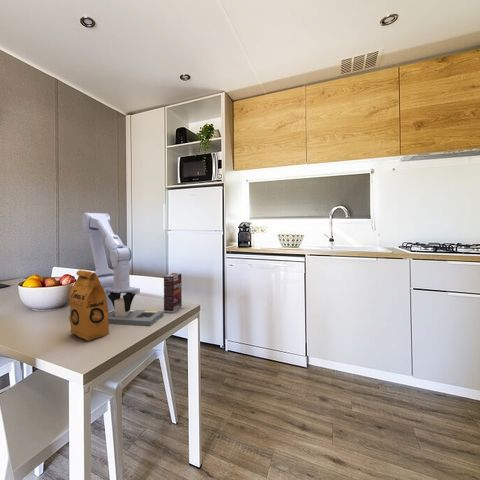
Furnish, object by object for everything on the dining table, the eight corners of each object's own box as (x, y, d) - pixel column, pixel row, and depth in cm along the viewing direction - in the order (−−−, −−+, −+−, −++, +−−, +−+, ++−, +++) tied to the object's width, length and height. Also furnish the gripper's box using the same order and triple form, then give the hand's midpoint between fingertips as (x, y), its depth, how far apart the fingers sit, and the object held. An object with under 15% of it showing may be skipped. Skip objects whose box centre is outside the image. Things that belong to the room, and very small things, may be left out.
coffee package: (81, 345, 76) (79, 275, 75) (66, 334, 83) (64, 271, 82) (113, 333, 84) (112, 271, 82) (97, 325, 91) (96, 267, 90)
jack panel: (101, 323, 93) (101, 318, 93) (119, 313, 104) (119, 308, 104) (150, 325, 90) (150, 320, 90) (163, 315, 101) (163, 310, 101)
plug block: (114, 320, 96) (114, 300, 96) (121, 316, 100) (120, 297, 100) (124, 320, 96) (123, 300, 95) (130, 317, 99) (129, 297, 99)
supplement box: (173, 313, 104) (173, 276, 103) (163, 312, 105) (162, 276, 104) (182, 306, 112) (182, 273, 111) (172, 306, 113) (172, 272, 112)
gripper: (98, 279, 94) (99, 313, 95) (132, 280, 92) (133, 315, 93) (110, 275, 101) (111, 307, 102) (142, 276, 99) (143, 308, 100)
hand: (122, 310), depth 98 cm, fingers closed on plug block, 4 cm apart
